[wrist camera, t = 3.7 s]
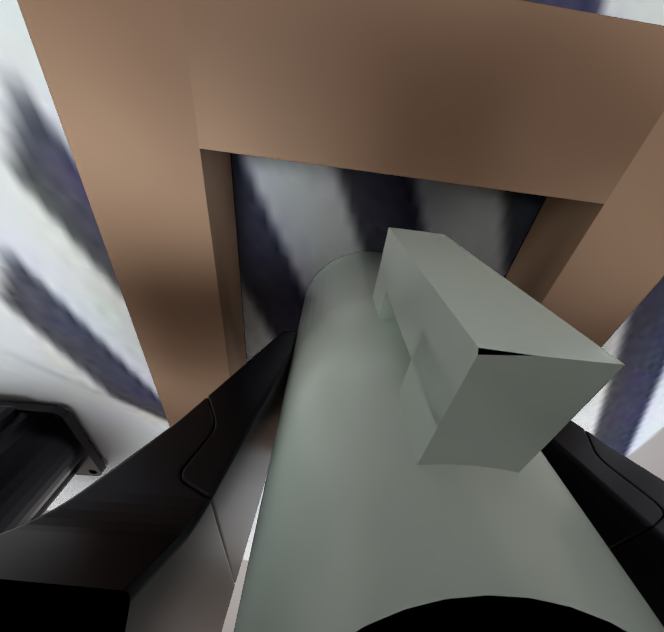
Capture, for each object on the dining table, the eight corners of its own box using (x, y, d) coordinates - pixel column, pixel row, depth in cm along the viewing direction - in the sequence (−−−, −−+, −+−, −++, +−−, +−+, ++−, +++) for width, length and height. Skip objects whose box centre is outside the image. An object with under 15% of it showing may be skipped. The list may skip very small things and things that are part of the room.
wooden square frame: (472, 439, 15) (489, 475, 13) (197, 416, 14) (178, 452, 13) (721, 83, 7) (851, 60, 5) (84, -24, 6) (-17, -96, 4)
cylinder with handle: (407, 361, 12) (532, 720, 4) (300, 351, 12) (236, 714, 4) (461, 213, 8) (1567, 723, 1) (311, 193, 8) (8, 681, 1)
